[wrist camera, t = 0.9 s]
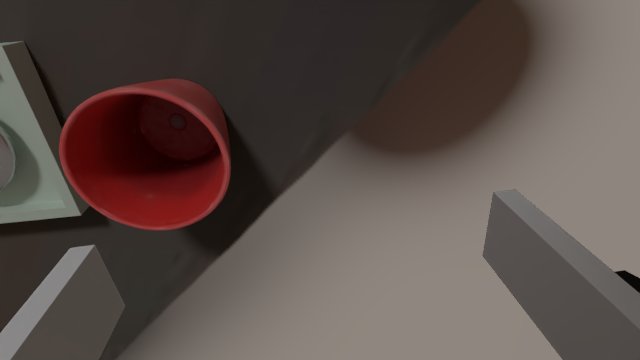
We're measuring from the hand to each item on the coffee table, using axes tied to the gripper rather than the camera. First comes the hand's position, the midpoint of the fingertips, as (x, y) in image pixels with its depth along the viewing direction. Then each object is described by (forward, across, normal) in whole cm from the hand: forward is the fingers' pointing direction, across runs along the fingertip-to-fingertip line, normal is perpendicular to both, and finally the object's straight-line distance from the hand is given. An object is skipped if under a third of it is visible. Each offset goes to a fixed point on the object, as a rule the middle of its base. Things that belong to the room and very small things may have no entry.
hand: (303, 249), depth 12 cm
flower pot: (+23, -10, -2) cm, 25 cm away
